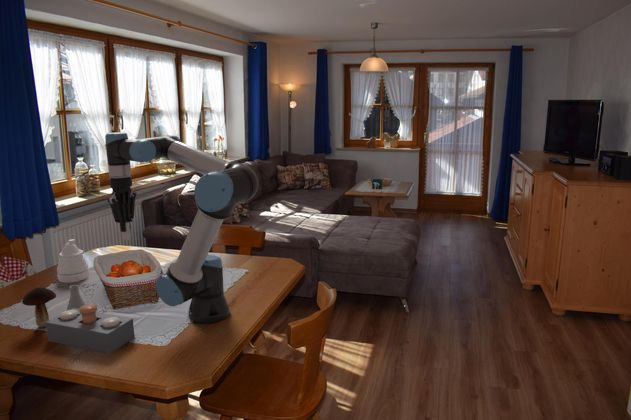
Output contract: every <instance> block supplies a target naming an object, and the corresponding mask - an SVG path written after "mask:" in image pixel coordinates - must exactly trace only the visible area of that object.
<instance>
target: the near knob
mask: <svg viewBox="0 0 631 420" xmlns="http://www.w3.org/2000/svg"><path fill="white" fill-rule="evenodd" d="M119 324H120V319H119V318H118V317H110V318H106V319H104V320H103V321H102V327H105V328H110V329H112V328H114V327H116V326H117V325H119Z"/></svg>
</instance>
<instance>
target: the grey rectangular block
mask: <svg viewBox="0 0 631 420" xmlns="http://www.w3.org/2000/svg"><path fill="white" fill-rule="evenodd" d="M71 310H76V311H77V312H78V316H77V317H76V318H74V319H72V320H70V321H66V320H61V319H60V314H59V315H58V316H56V317H53V318H52V319H49V321H48V322H46V332H47V338H48V342H50V343H55V344H61V345H65V346H70V347H71V346H72V347H76V348H80V349H86V350H91V351H95V352H100V353H106V354H112V353H113V352H115V351H116V350H118V349H119V348H121V347H122V346H124V345H125V344H126V343H128V342H130V341H131V340H132V339H134V338H135V327H134V326H135V325H134V319H133V317H129V316H128V317H126V316H121V315H114V314H109V313H103V312H98V311H96V318H97V321H96V322H94V323H92V324H91V325H88V324H83V321H82V314H80V313H79V309H75V308H73V309H71ZM110 317H118V318H119V319H120V324H119V325H117V326H116V327H114V328H112V329H110V328H105V327H102V321H103V320H104V319H106V318H110Z"/></svg>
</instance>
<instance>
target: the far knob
mask: <svg viewBox="0 0 631 420" xmlns="http://www.w3.org/2000/svg"><path fill="white" fill-rule="evenodd" d="M59 315H60V319H61V320H66V321H70V320H72V319H74V318H76V317H77V316H78V312H77V311H76V310H67V309H66V310H65V311H62V312H60V313H59Z"/></svg>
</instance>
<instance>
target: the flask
mask: <svg viewBox="0 0 631 420" xmlns="http://www.w3.org/2000/svg"><path fill="white" fill-rule="evenodd" d="M79 286H80V285H78V284H73V285H70V286H69V287H68V288H69V291H70V296H69V300H68V305H67V309H66V311H67V310H71V309H73V308H75V309H79V308H80V307H81V306H84V305H87V304H86V302H85V301H84V299H83V297H82V296H81V294H80V291H79Z"/></svg>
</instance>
